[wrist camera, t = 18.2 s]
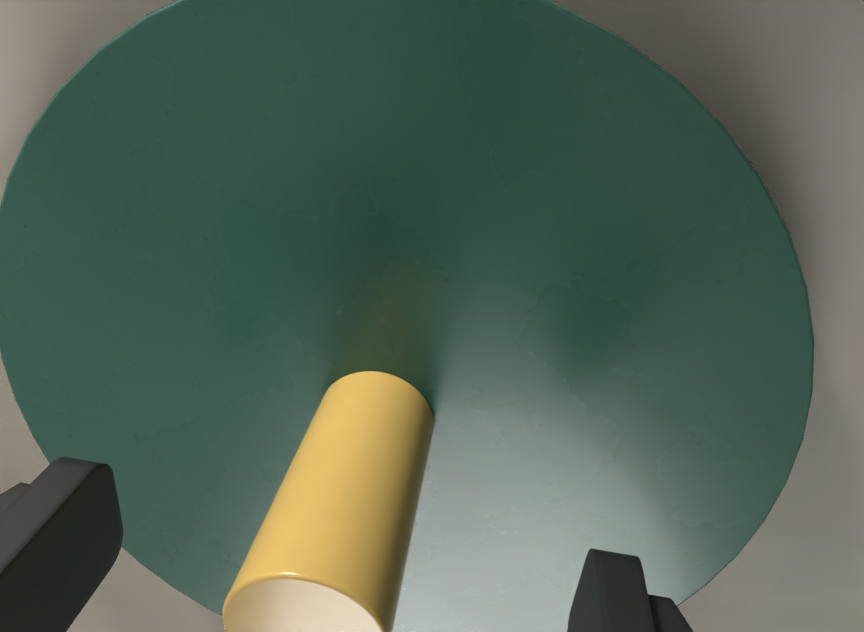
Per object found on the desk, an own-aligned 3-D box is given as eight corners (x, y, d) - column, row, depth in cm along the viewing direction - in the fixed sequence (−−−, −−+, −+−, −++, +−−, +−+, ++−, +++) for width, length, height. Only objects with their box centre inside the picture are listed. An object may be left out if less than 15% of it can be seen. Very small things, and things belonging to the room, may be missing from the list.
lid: (-60, -88, 11) (-634, -147, 6) (954, 23, 10) (1482, 82, 4) (93, 574, 19) (-82, 817, 13) (664, 678, 18) (724, 988, 12)
